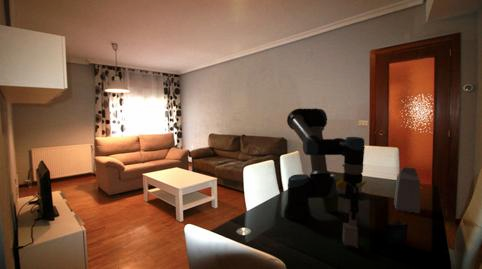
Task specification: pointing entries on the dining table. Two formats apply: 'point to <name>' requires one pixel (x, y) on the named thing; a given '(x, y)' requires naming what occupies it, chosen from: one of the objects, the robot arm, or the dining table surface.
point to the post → (350, 245)
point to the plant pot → (331, 202)
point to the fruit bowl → (342, 186)
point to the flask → (397, 232)
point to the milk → (407, 191)
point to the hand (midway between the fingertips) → (350, 218)
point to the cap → (350, 234)
